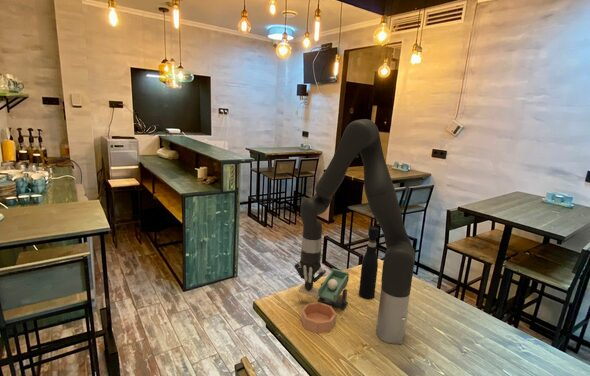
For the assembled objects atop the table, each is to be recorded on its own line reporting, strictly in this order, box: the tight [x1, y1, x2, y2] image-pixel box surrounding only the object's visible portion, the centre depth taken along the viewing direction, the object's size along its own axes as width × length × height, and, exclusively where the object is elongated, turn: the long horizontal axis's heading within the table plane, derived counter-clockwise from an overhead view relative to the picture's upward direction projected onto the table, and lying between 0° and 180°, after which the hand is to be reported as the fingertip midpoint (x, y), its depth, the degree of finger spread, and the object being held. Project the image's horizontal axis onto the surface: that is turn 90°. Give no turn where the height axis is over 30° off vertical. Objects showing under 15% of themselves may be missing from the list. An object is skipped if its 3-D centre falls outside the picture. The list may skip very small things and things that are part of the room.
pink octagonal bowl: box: [300, 301, 337, 335], centre depth 114 cm, size 12×12×4 cm
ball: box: [328, 279, 338, 290], centre depth 123 cm, size 4×4×4 cm
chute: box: [298, 267, 350, 302], centre depth 126 cm, size 15×15×6 cm
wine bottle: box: [358, 225, 380, 300], centre depth 129 cm, size 6×6×30 cm
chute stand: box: [317, 282, 349, 311], centre depth 126 cm, size 11×5×7 cm, turn 61°
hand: (308, 289), depth 123 cm, fingers closed
